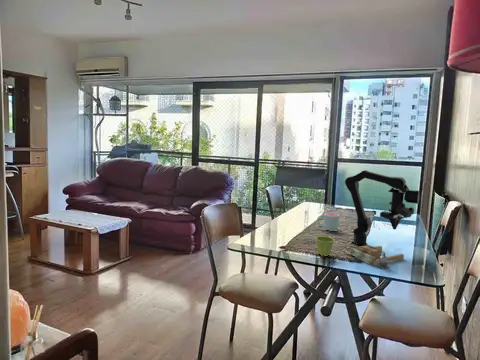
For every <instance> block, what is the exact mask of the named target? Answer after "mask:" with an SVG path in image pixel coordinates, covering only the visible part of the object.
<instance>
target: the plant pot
mask: <svg viewBox="0 0 480 360" xmlns="http://www.w3.org/2000/svg"><path fill="white" fill-rule="evenodd" d="M315 240H316V244H317V255H318V254H320V255H330V256H331V254H332V253H331V252H332V247H333V244H334V242H335V239H334V238H333V237H330V236H323V235H319V236H316V237H315Z"/></svg>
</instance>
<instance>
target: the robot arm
mask: <svg viewBox="0 0 480 360" xmlns="http://www.w3.org/2000/svg"><path fill="white" fill-rule="evenodd" d="M364 179H366V180H372V181H376V182H378V183H383V184H386V185H387V186H389V187H391V188H390V189H389V190H388V193H391V201H389V205H390V209H388V211H387V210H385V211H383V210H382V211H380V213H379V217H380V218H384V219H387V220H389V222H390V225H391V228H392V230H394V231H395V230H397V227H398V225H399V224H400V222H401V221H402V220H403V219H407V218H411V217H412V216H413V215H414V214H415V213H414V212H415V209H414V207H412V206H411V207H406V204H405V203H408V204H414V205H415V204H417V205H419V202H420V198H421V197H420V190H413V189H410V188H409V187H408V186H407V185H408V184H407V182H406V180H405V179H406V178H403V177H402V176H398V177H397V176H387V175H384V174H380V173H377V172H372V171H369V170H366V169H365V170H361V172H358V173H357V174H355V175H353V176H348V177H346V178H345V181H344V184H345V187H346V188H347V190H348V191H349V193H350V194H351V198H352V203H353V206H354V210H355V212H356V217H357V222H356V223H357V227H356V228H355V229H353V241H354V242H355V243H357V244H359V245H362V246H366V245H368V243H367V237H368V236H367V232H368V231H369V230H371V228H372V224H373V223H372V222H371V217H368V216H367V215H366V212H365V207H364V205H363V202H362V199H361V198H362V197H361V195H360V191H359V190H360V182H361V181H363V180H364ZM404 201H405V203H404ZM359 245H358V246H359Z"/></svg>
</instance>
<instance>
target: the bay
mask: <svg viewBox="0 0 480 360" xmlns="http://www.w3.org/2000/svg"><path fill="white" fill-rule="evenodd" d="M374 247H375V248H378V249H381V250H382V251H383V246H382V245H378V246H377V245H376V246H374ZM350 254H351V255H353V256H355V257H357V258H359V259H360V260H359V259H358V260H359V261H361V260H362V261H361V262H363V261H364V263H366V264H368V265H371V266H372V267H377V265H378V264H380V258H379V259H376V257H373V256H371V255H368V254H366V253H363V252H361V251H358V249H356V248H354V247H352V248H351V247H350ZM387 257H388V258H387V264H388V263H393V262H398V261H401V260H404V258H405V254H404V253H398V254H394V255H389V256H387Z"/></svg>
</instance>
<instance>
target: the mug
mask: <svg viewBox="0 0 480 360" xmlns="http://www.w3.org/2000/svg"><path fill="white" fill-rule="evenodd" d="M322 218H323V224H321V223H320V219H322ZM339 221H340V214H338V213H333V212H325V213H324V214H323V215H319V216H318V218H317V219H316V223H317V225H318V226H319V227H323V230H324V229H325V230H329V231H335V230H338V231H339ZM325 230H324V231H325ZM329 231H328V232H329Z"/></svg>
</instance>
